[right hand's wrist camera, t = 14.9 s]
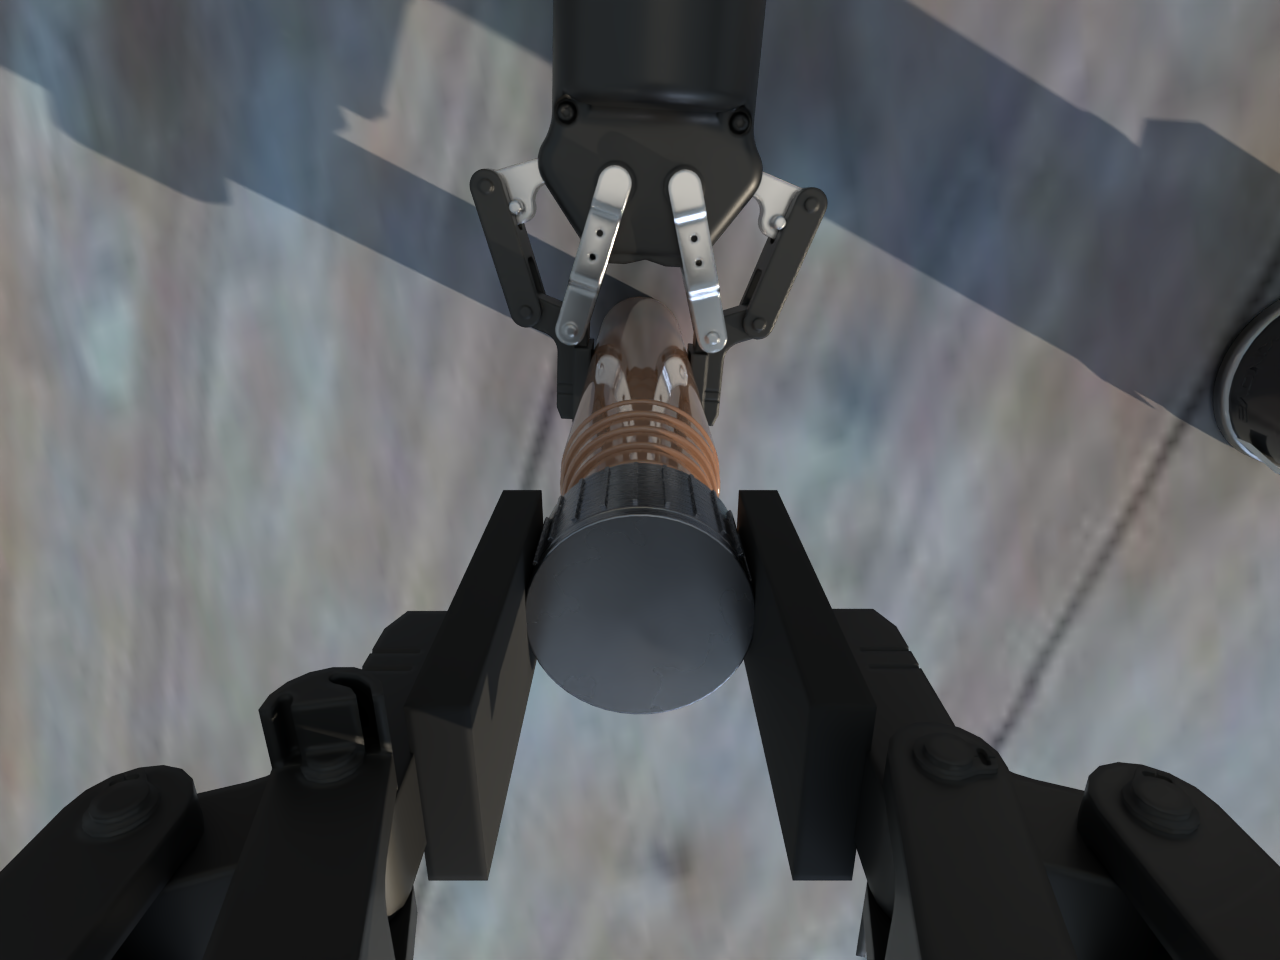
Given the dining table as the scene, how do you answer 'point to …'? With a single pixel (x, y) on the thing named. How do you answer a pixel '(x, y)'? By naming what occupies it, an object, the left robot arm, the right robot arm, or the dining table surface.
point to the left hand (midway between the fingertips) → (635, 428)
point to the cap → (640, 591)
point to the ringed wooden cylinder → (640, 400)
